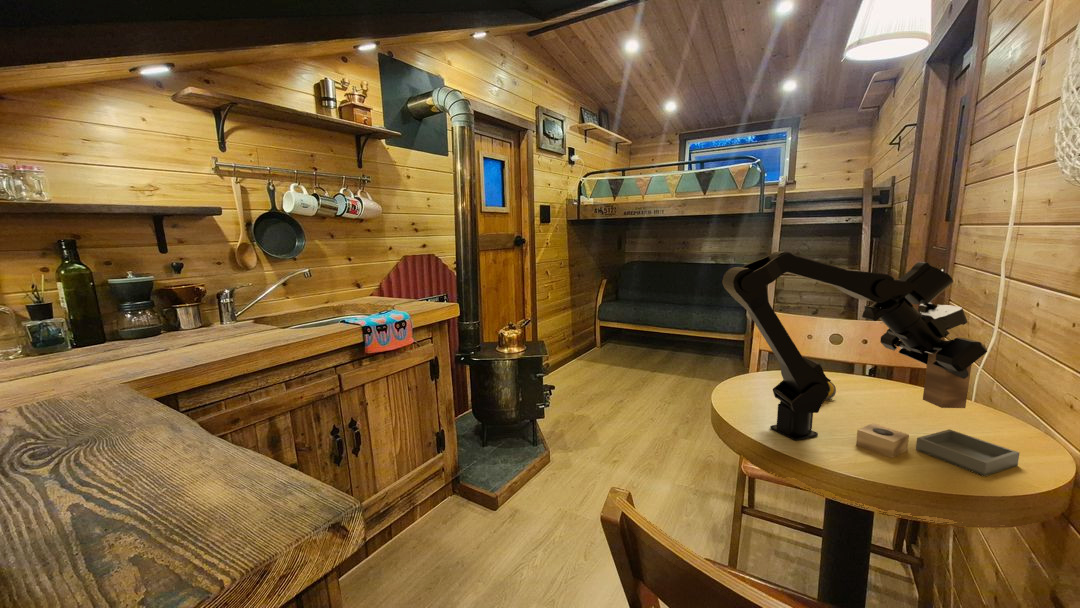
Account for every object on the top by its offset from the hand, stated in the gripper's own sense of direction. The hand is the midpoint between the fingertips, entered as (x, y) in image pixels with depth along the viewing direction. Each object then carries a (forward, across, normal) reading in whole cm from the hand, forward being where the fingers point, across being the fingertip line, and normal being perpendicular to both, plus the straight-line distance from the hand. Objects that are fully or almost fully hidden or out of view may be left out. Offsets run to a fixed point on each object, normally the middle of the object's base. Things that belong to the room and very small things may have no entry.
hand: (954, 373), depth 84 cm
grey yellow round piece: (+1, +20, +19) cm, 27 cm away
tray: (+6, -9, +13) cm, 17 cm away
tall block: (+4, 0, +6) cm, 7 cm away
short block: (-2, -6, +22) cm, 23 cm away
